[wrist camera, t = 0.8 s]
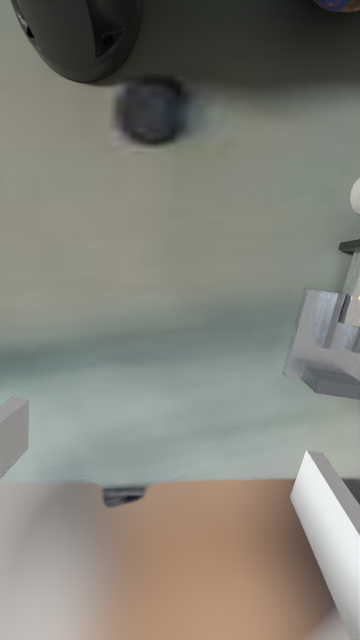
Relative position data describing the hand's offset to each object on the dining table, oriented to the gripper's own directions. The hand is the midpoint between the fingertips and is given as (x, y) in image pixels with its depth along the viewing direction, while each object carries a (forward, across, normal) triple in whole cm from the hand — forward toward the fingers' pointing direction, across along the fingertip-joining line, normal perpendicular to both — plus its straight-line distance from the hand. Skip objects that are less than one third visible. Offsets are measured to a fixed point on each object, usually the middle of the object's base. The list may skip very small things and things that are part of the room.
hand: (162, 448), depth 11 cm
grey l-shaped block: (+27, +23, +1) cm, 36 cm away
